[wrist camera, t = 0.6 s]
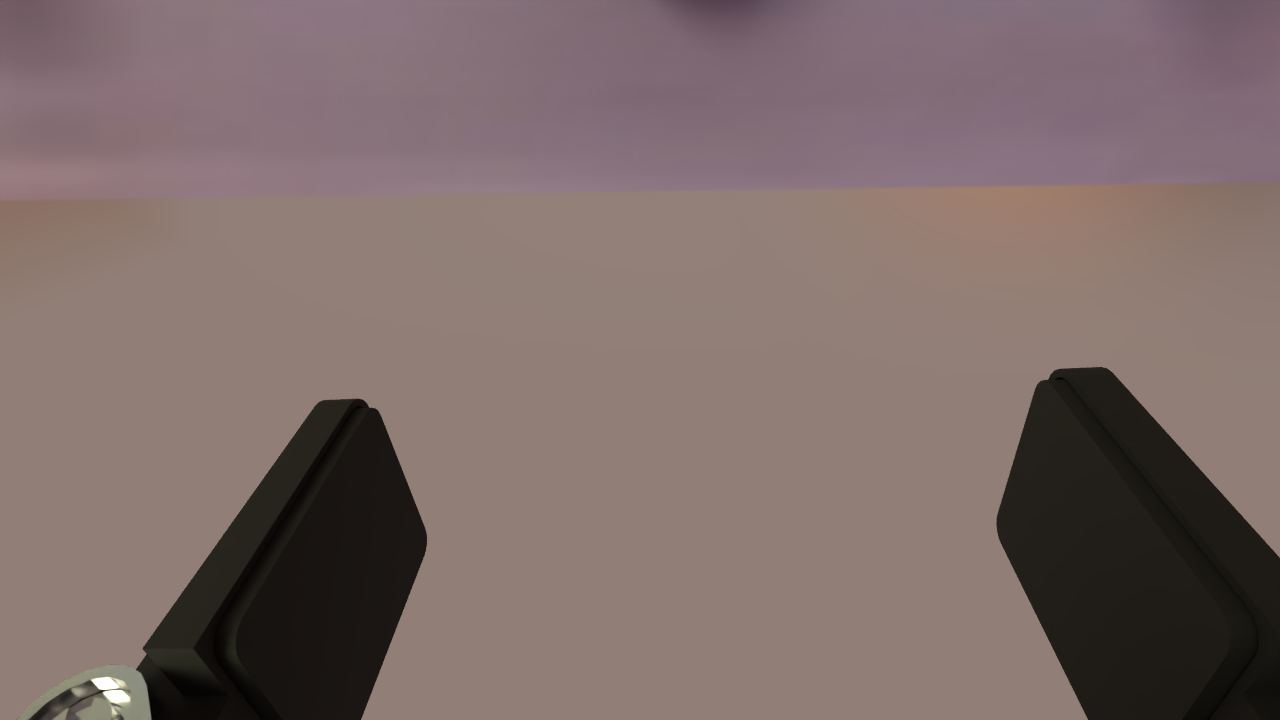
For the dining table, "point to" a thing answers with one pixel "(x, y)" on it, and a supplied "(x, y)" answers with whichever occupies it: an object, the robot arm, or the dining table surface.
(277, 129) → the dining table surface
